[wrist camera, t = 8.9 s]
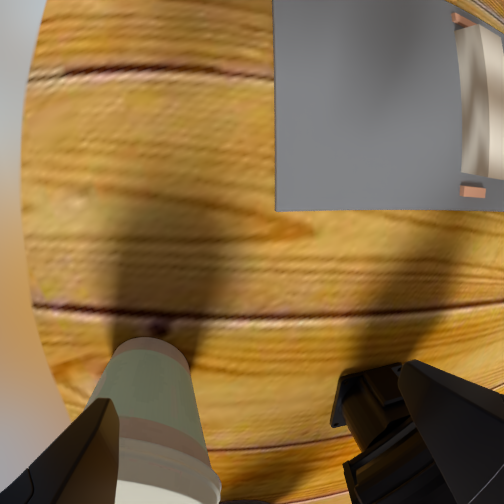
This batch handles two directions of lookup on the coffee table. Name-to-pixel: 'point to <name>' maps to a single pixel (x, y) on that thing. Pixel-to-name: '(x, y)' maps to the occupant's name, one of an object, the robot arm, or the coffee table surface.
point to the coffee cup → (157, 426)
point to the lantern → (244, 502)
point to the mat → (372, 107)
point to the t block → (481, 101)
